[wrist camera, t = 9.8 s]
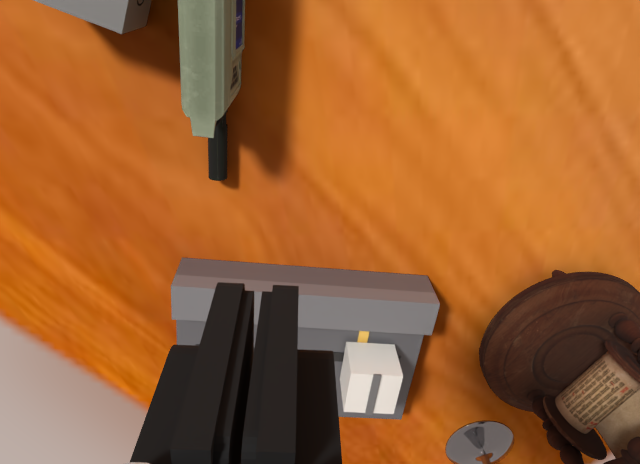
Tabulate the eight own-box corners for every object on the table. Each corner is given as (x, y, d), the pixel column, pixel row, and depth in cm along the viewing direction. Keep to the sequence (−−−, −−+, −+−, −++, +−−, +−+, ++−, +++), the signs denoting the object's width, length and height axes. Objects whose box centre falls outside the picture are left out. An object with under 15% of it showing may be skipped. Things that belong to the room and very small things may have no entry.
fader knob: (394, 343, 40) (403, 376, 37) (385, 381, 42) (393, 415, 39) (346, 341, 40) (351, 374, 36) (339, 378, 42) (343, 413, 38)
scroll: (555, 411, 49) (703, 658, 31) (441, 355, 45) (537, 603, 27) (672, 307, 44) (932, 534, 26) (554, 233, 39) (767, 442, 22)
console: (427, 275, 41) (440, 304, 37) (396, 398, 47) (404, 432, 43) (182, 257, 39) (170, 285, 35) (184, 388, 45) (174, 423, 42)
